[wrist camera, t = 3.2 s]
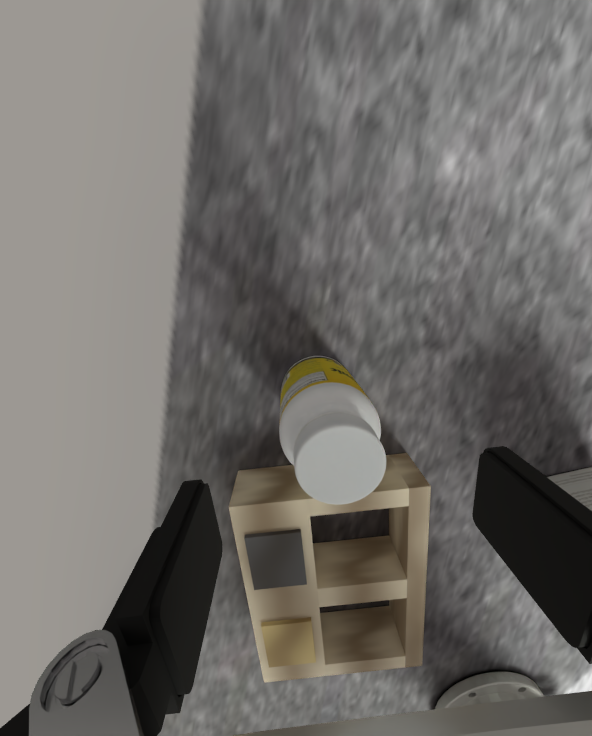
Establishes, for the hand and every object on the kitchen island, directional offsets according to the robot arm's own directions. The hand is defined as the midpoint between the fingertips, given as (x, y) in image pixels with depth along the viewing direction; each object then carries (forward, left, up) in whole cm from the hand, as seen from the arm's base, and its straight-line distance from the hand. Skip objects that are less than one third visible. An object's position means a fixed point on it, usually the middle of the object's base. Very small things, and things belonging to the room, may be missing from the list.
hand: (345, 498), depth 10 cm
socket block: (0, +17, -12) cm, 20 cm away
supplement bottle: (0, +1, -12) cm, 12 cm away
